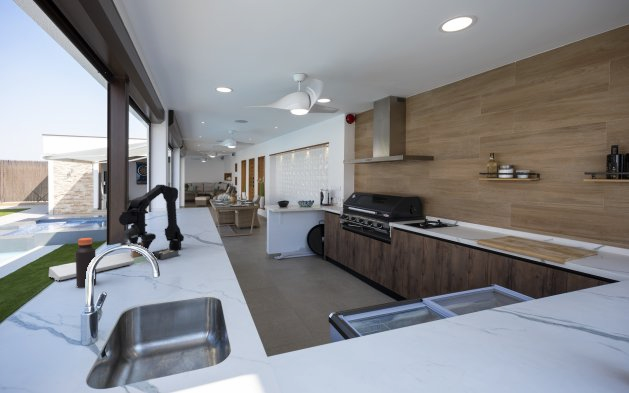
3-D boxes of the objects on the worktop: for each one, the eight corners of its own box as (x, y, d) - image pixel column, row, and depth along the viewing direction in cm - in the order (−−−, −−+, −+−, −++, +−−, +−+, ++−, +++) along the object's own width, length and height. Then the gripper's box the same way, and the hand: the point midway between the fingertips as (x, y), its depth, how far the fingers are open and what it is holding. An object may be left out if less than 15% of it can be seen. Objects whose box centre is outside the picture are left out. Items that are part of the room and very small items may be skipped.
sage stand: (144, 259, 178) (144, 252, 178) (154, 260, 175) (153, 254, 174) (125, 263, 168) (125, 256, 168) (135, 265, 165) (134, 258, 165)
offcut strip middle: (168, 255, 185) (168, 250, 185) (170, 255, 184) (170, 250, 184) (159, 257, 180) (158, 252, 179) (160, 257, 179) (160, 252, 179)
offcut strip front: (171, 255, 184) (171, 250, 183) (173, 256, 183) (173, 251, 183) (162, 258, 178) (162, 253, 178) (164, 258, 177) (164, 253, 177)
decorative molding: (135, 268, 168) (125, 260, 173) (137, 259, 167) (126, 252, 172) (58, 286, 139) (48, 276, 143) (59, 277, 138) (49, 267, 142)
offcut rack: (166, 254, 190) (166, 248, 190) (180, 256, 185) (180, 250, 184) (148, 258, 179) (148, 252, 179) (162, 261, 174) (162, 255, 174)
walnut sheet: (145, 259, 175) (145, 241, 175) (147, 259, 174) (147, 241, 174) (131, 262, 168) (131, 243, 167) (133, 263, 167) (133, 244, 167)
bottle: (86, 288, 131) (84, 240, 130) (72, 287, 132) (70, 240, 131) (100, 283, 138) (99, 237, 136) (87, 282, 139) (85, 237, 138)
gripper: (113, 223, 167) (114, 252, 168) (136, 226, 159) (136, 256, 160) (133, 220, 177) (134, 248, 178) (156, 223, 169) (156, 252, 170)
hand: (139, 251), depth 171 cm, fingers open, 9 cm apart
